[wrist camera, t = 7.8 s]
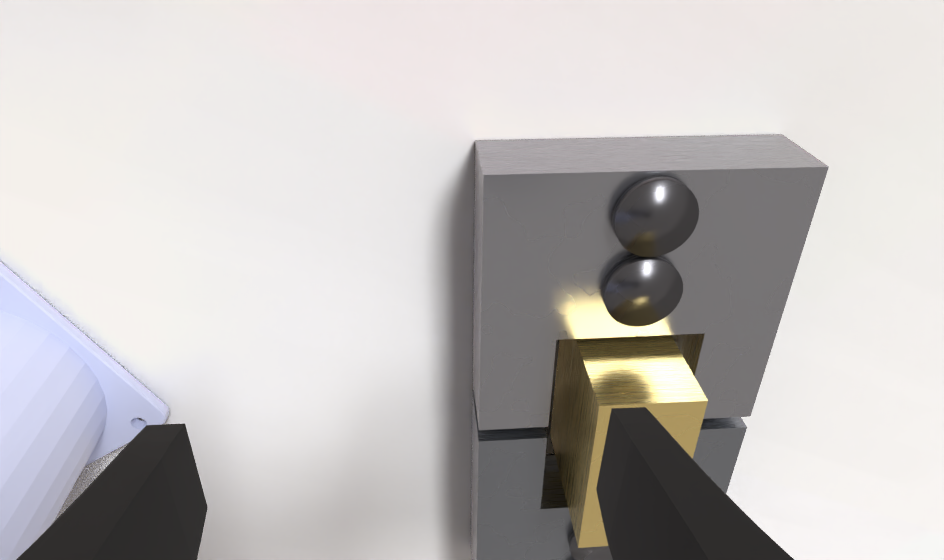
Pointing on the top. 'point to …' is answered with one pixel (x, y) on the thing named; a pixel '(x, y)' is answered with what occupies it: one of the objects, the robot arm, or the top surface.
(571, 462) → the brass rectangular block
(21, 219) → the top surface
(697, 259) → the chain ends
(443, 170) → the top surface
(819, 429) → the top surface
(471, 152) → the top surface
